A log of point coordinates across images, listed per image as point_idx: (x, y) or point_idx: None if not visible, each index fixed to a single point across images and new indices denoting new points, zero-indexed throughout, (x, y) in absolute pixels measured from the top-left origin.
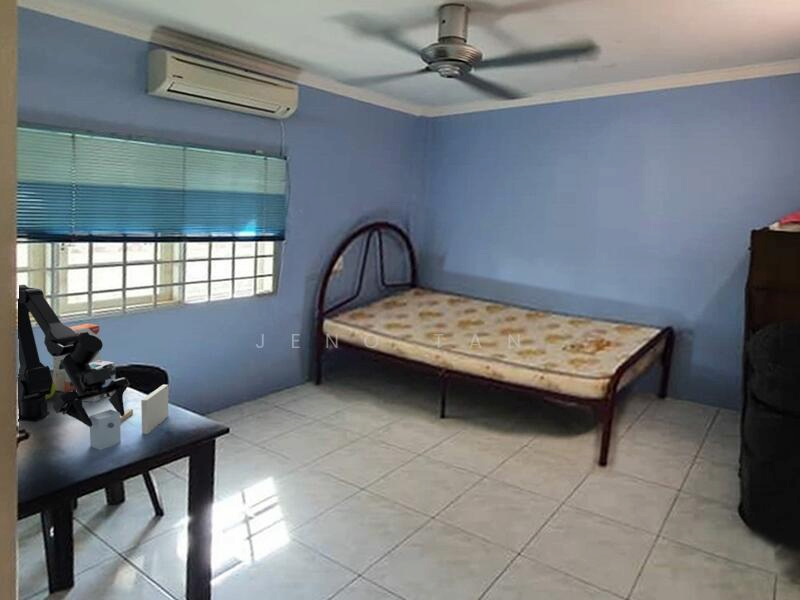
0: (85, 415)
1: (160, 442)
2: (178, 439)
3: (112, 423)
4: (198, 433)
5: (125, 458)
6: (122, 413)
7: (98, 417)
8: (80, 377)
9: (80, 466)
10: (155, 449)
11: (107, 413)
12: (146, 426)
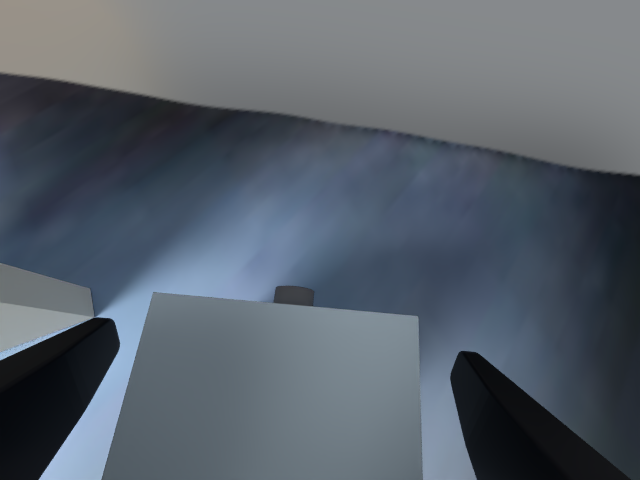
0: (584, 458)
1: (160, 166)
2: (102, 128)
3: (286, 287)
4: (12, 104)
5: (356, 169)
6: (103, 329)
7: (388, 373)
8: None
9: (515, 260)
10: (231, 135)
11: (237, 399)
12: (54, 282)
